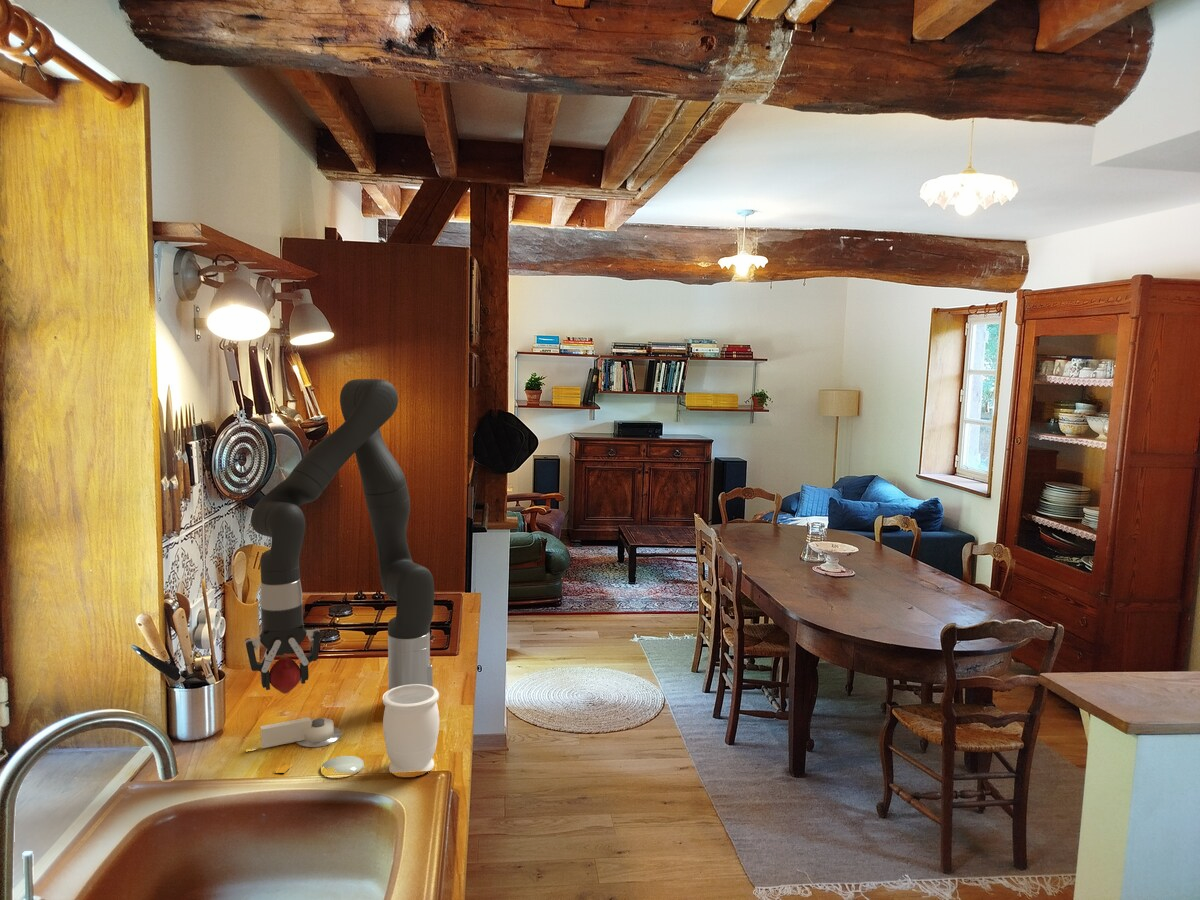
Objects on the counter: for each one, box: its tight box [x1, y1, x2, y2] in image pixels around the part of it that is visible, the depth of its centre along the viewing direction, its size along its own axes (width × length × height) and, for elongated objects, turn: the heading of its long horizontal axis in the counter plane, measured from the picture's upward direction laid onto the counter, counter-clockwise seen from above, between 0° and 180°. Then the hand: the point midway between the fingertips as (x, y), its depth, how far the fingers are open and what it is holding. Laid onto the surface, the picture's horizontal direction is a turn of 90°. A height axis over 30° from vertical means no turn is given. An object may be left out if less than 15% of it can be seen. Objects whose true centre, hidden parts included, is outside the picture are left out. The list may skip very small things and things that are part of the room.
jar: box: [382, 684, 440, 773], centre depth 154 cm, size 11×10×15 cm
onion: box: [269, 653, 301, 695], centre depth 157 cm, size 6×6×8 cm
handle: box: [260, 716, 335, 749], centre depth 165 cm, size 14×6×4 cm, turn 118°
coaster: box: [321, 755, 365, 773], centre depth 155 cm, size 8×8×1 cm
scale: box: [244, 726, 342, 751], centre depth 161 cm, size 18×17×1 cm
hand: (285, 685), depth 157 cm, fingers closed on onion, 6 cm apart
